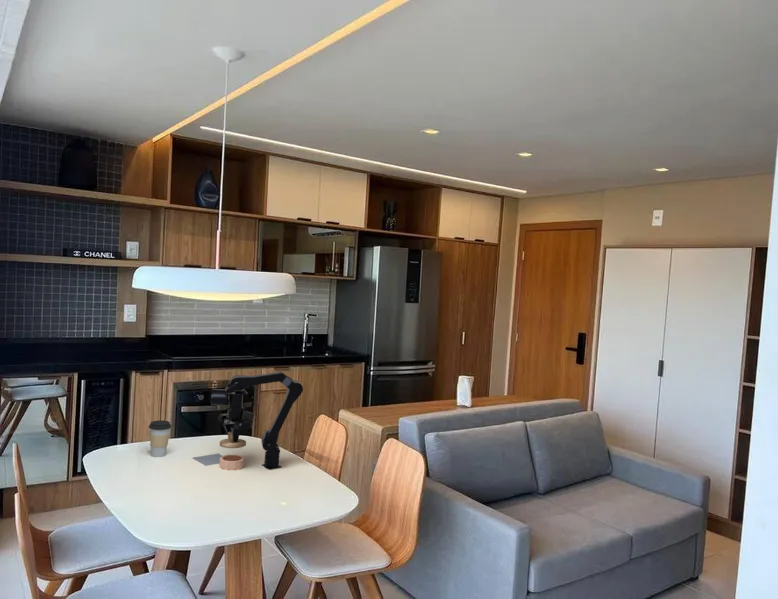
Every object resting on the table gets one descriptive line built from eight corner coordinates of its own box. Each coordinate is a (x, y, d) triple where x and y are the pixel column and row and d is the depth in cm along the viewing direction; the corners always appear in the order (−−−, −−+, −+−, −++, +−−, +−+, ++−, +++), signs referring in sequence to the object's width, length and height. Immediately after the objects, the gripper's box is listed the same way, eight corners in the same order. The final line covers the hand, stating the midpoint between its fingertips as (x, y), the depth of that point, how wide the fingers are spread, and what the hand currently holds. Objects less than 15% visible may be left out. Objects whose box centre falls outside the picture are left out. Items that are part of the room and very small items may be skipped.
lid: (250, 445, 252) (251, 433, 252) (227, 449, 245) (228, 437, 244) (237, 439, 260) (238, 428, 260) (214, 443, 252) (215, 431, 252)
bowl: (247, 468, 253) (248, 459, 252) (226, 472, 245) (227, 463, 245) (235, 462, 260) (236, 453, 259) (215, 466, 252) (215, 456, 252)
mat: (232, 461, 260) (232, 460, 260) (205, 466, 251) (205, 465, 251) (218, 454, 269) (218, 453, 269) (191, 458, 260) (191, 457, 260)
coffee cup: (173, 456, 262) (176, 422, 261) (155, 460, 254) (157, 426, 253) (160, 451, 267) (162, 418, 266) (141, 455, 259) (144, 422, 258)
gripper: (263, 407, 251) (261, 443, 251) (240, 399, 264) (238, 433, 265) (240, 410, 243) (238, 447, 244) (218, 401, 256) (215, 437, 257)
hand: (233, 441), depth 252 cm, fingers closed on lid, 3 cm apart
